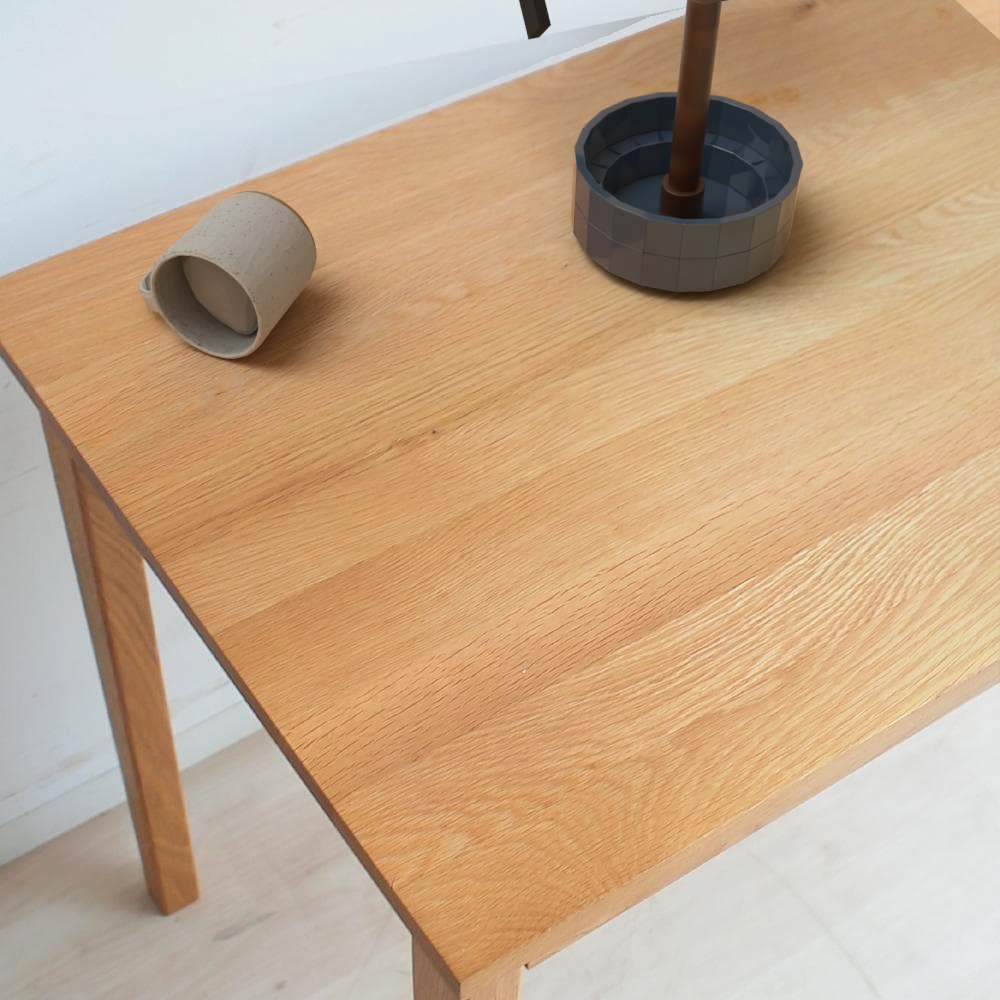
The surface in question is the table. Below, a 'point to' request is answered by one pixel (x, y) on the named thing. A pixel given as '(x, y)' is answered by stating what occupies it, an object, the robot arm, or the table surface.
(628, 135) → the bowl
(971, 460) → the table surface
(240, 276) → the ceramic mug
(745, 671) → the table surface
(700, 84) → the brown pestle
